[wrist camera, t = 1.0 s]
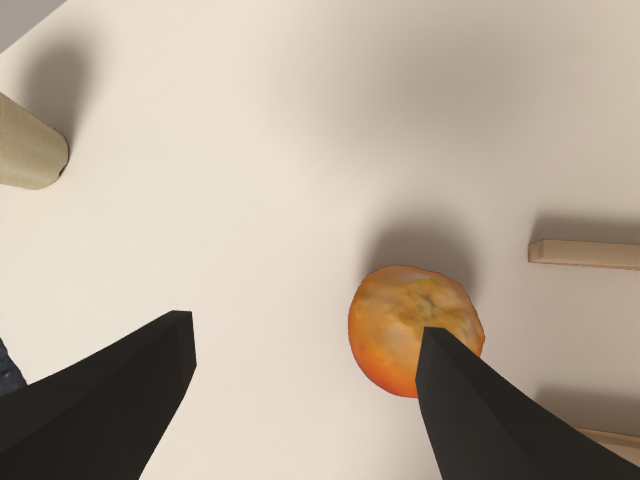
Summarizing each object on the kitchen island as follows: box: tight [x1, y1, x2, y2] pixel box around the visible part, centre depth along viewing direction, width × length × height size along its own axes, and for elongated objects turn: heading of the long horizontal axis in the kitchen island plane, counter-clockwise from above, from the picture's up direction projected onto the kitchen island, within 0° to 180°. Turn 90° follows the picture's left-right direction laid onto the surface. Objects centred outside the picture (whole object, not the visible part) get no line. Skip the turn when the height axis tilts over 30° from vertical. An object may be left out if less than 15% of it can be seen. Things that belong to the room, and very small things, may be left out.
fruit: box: [348, 266, 485, 398], centre depth 22 cm, size 8×8×8 cm
